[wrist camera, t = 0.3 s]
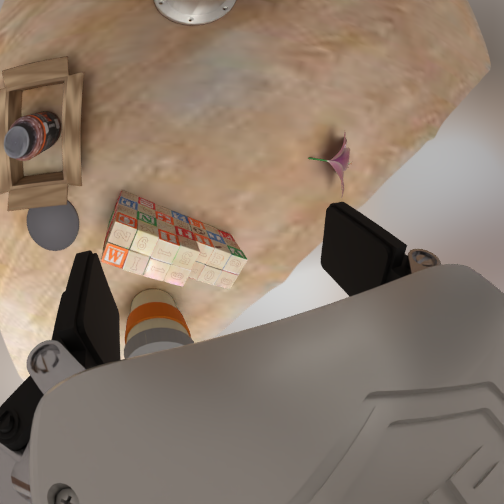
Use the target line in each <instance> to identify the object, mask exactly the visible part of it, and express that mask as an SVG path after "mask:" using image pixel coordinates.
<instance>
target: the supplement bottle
mask: <svg viewBox="0 0 504 504" xmlns="http://www.w3.org/2000/svg"><path fill="white" fill-rule="evenodd" d="M60 131H61V125H60V121H59V119H58V117H57V116H56V115H55V114H53V113H51V112H40V113H35V114H31V115H27V116H23V117H21V118H19V119H17V120H16V121H15V122H14V123H13V124H12V125H11V127H10V129H9V131H8V132H7V133H6V135H5V138H4V149H5V152H6V154H7V155H8V156H9V157H11V158H14V159H17V160H20V161H26V160H30V159H32V158H33V157H35V156H37V155H38V154H40V153H41V152H43V151H45V150H46V149H48V148H50V147H51V146H52V145H54V144H55V142H56V141H57V140H58V138H59V135H60Z"/></svg>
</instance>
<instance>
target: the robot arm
mask: <svg viewBox="0 0 504 504" xmlns="http://www.w3.org/2000/svg"><path fill="white" fill-rule="evenodd" d="M235 2H236V0H154V3H155V5H156V7H157V9H158V11H159V12H160V13H161V14H162V15H163V16H165V17H166V18H168V19H169V20H171V21H173V22H176V23H179V24H183V25H203V24H208V23H211V22H214V21H216V20H218V19H219V18H221V17H223V16H224V15H225V14H226V13H228V12H229V11H230V10H231V8H232V7H233V5H234V4H235ZM159 3H162V5H160V4H159ZM223 8H224V9H225V10H223ZM188 20H191V22H189V21H188ZM406 247H407V245H406V244H404V243H403V242H401V241H400V240H399V239H397V238H396V237H395V236H393V235H392V234H391V233H389V232H388V231H386V230H385V229H383V228H382V227H381V226H379V225H378V224H376V223H375V222H373V221H372V220H370V219H369V218H367V217H366V216H364V215H363V214H361V213H360V212H358V211H357V210H355V209H354V208H352V207H351V206H349V205H348V204H346V203H345V202H339V203H332V204H330V206H329V207H328V208H327V210H326V217H325V227H324V236H323V246H322V254H321V265H322V267H323V269H324V270H325V271H326V272H327V273H328V274H329V275H330V276H331V277H332V278H333V279H334V280H335V281H336V282H337V283H338V284H339V286H340V287H341V288H342V289H343V290H344V291H345V292H346V293H347V294H348V295H349V296H350V297H348V298H345V299H342V300H339V301H337V302H334V303H331V304H328V305H325V306H322V307H319V308H316V309H313V310H310V311H307V312H304V313H300V314H297V315H294V316H291V317H287V318H284V319H281V320H277V321H274V322H271V323H267V324H264V325H261V326H257V327H254V328H250V329H246V330H243V331H239V332H236V333H232V334H228V335H224V336H220V337H217V338H213V339H209V340H205V341H201V342H197V343H193V344H189V345H185V346H180V347H176V348H172V349H167V350H163V351H158V352H154V353H149V354H145V355H141V356H136V357H132V358H128V359H123V360H120V333H119V312H118V308H117V306H116V303H115V301H114V298H113V296H112V293H111V291H110V288H109V286H108V283H107V280H106V277H105V275H104V272H103V269H102V266H101V263H100V261H99V258H98V255H97V253H94V254H93V253H92V252H91V251H85V252H81V253H77V254H76V256H75V260H74V263H73V266H72V269H71V273H70V276H69V280H68V284H67V287H66V291H65V292H63V294H62V297H61V301H60V305H59V309H58V313H57V317H56V322H55V326H54V331H53V336H52V340H47V341H44V342H42V343H40V344H38V345H37V346H36V347H35V348H34V349H33V350H32V351H31V352H30V354H29V356H28V359H27V369H28V372H29V374H30V376H29V377H28V378H27V379H26V380H25V381H24V382H23V383H22V384H21V385H20V386H19V387H18V389H17V390H16V391H15V392H14V393H13V394H12V395H11V396H10V397H9V398H8V399H7V400H6V401H5V402H4V403H3V404H2V406H1V407H0V504H504V293H503V292H501V291H500V290H499V289H498V288H497V287H495V286H494V285H493V284H492V283H491V282H490V281H488V280H487V279H486V278H484V277H483V276H482V275H481V274H479V273H478V272H476V271H475V270H473V269H471V268H470V267H468V266H464V265H458V264H445V265H441V263H440V260H439V259H438V257H436V255H434V254H433V253H431V252H429V251H427V250H423V249H413V250H410V252H409V253H408V256H407V255H405V250H406Z"/></svg>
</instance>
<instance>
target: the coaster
mask: <svg viewBox="0 0 504 504" xmlns="http://www.w3.org/2000/svg"><path fill="white" fill-rule="evenodd" d="M27 227H28V231H29V233H30V235H31V237H32V238H33V240H34V241H35V242H36V243H37V244H38V245H39V246H41V247H43V248H45V249H47V250H52V251H58V250H62V249H65V248H67V247H68V246H70V245H71V244H72V243H73V241H74V240H75V238H76V236H77V234H78V230H79V218H78V214H77V212H76V210H75V208H74V207H73V205H72V204H71V203H70V202H69V201H68V200H67V205H58V206H48V207H39V208H30V209H29V211H28V215H27Z"/></svg>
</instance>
